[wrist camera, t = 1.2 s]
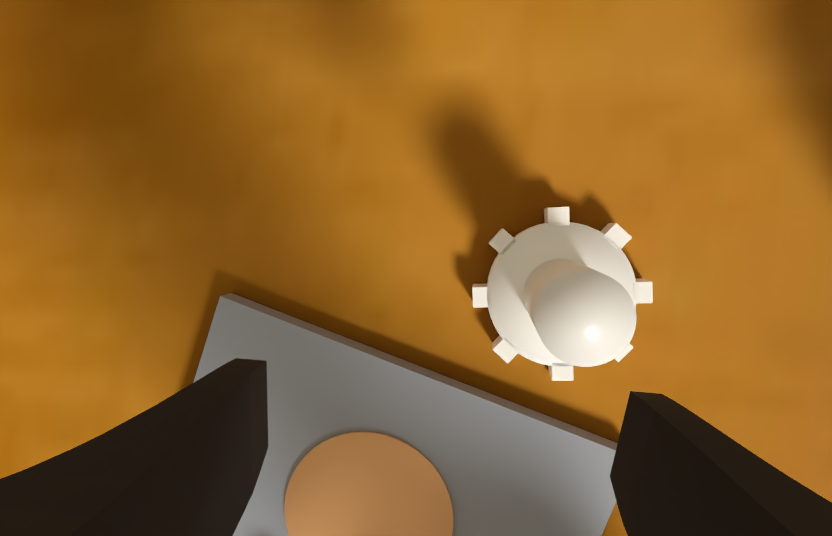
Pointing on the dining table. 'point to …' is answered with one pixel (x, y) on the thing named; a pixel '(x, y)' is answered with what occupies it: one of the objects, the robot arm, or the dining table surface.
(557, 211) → the planet gear
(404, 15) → the dining table surface
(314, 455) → the plate
